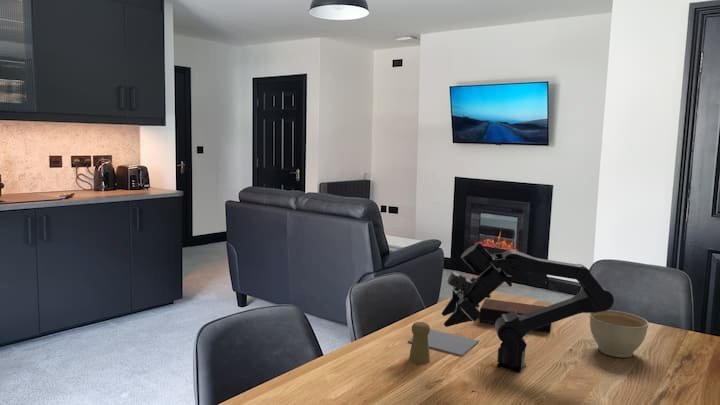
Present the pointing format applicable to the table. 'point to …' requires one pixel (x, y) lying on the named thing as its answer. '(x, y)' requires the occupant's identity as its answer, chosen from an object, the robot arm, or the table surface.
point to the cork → (420, 344)
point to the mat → (449, 342)
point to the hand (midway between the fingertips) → (443, 320)
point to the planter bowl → (618, 332)
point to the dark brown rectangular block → (495, 308)
